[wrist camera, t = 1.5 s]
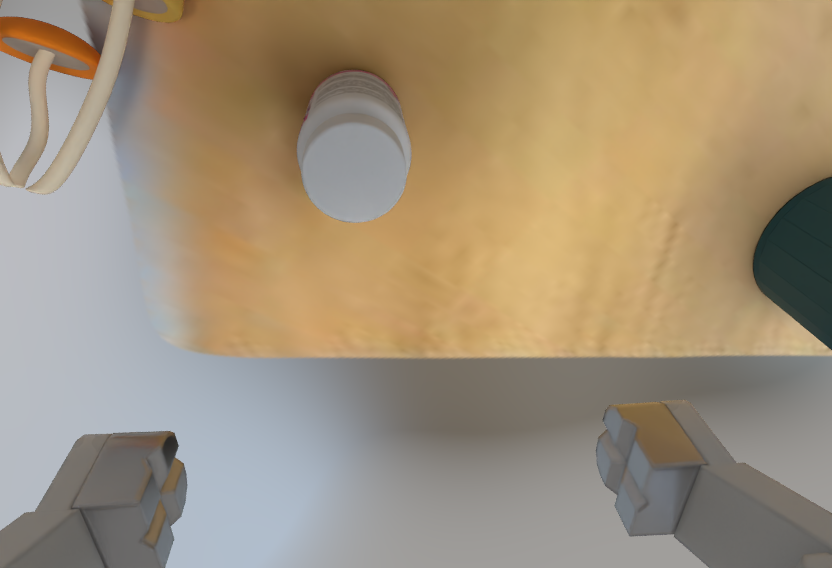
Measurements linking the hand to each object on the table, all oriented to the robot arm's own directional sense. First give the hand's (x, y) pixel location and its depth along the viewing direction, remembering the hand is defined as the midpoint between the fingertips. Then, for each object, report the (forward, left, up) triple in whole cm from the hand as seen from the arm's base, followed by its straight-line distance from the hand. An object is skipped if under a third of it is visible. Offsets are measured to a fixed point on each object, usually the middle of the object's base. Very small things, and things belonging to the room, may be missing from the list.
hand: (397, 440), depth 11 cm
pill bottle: (-1, -1, -21) cm, 21 cm away
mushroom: (0, -14, -14) cm, 20 cm away
